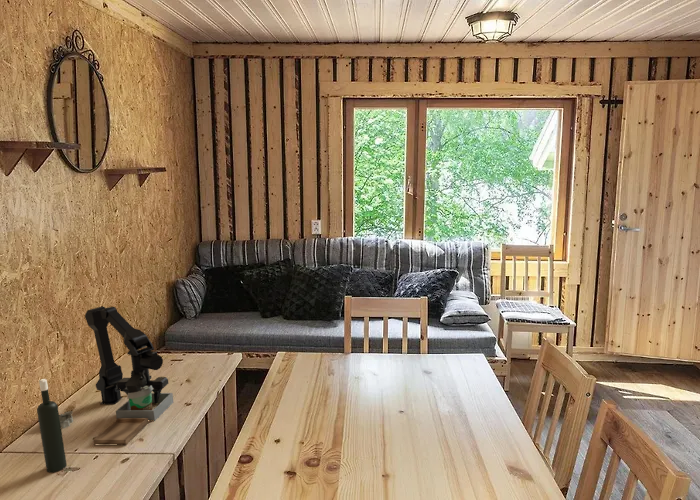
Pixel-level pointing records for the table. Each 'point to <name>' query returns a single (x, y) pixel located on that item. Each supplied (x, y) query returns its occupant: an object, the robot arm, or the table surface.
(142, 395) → the food container
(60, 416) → the egg carton
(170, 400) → the tub
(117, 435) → the tray
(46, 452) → the wine bottle
